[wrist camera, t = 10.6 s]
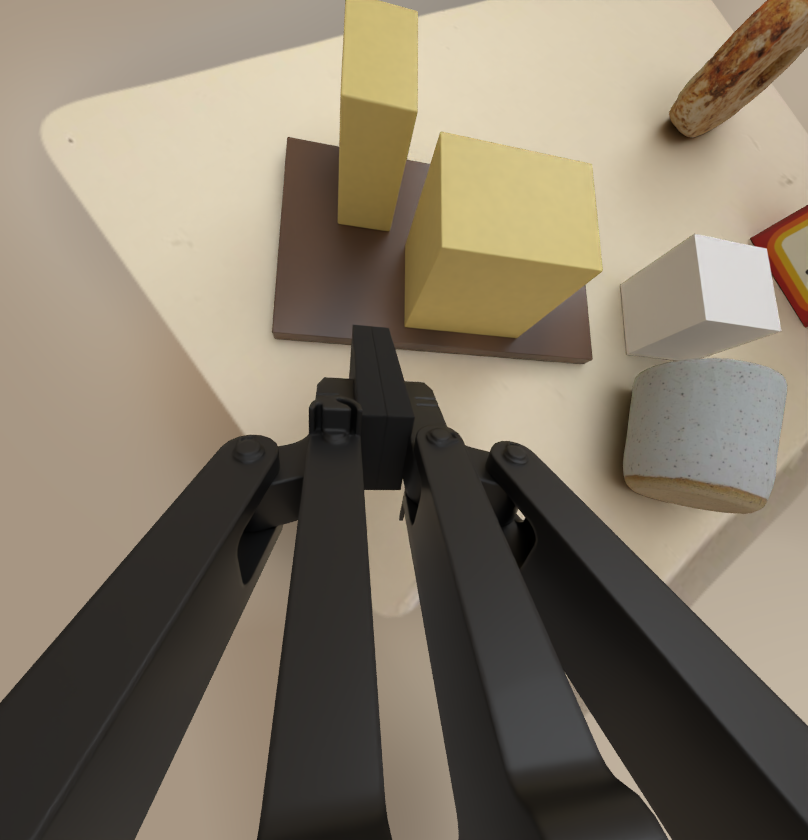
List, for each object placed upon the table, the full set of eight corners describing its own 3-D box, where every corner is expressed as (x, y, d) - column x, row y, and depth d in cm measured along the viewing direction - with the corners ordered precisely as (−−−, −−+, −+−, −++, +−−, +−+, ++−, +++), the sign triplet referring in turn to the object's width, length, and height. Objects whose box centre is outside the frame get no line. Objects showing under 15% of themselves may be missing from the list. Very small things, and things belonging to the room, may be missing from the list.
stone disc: (665, 156, 32) (809, 16, 22) (643, 123, 32) (776, -31, 23) (732, 126, 35) (887, -11, 25) (711, 96, 35) (857, -52, 25)
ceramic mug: (594, 486, 24) (710, 489, 17) (608, 379, 26) (719, 339, 19) (715, 522, 26) (868, 539, 19) (721, 419, 28) (862, 397, 21)
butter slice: (337, 224, 23) (340, 94, 15) (341, 147, 24) (345, -10, 16) (390, 232, 24) (417, 111, 16) (391, 157, 25) (418, 10, 17)
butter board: (274, 338, 22) (271, 332, 21) (289, 150, 24) (287, 136, 23) (583, 364, 26) (593, 359, 25) (568, 201, 29) (576, 191, 28)
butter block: (404, 327, 23) (441, 247, 15) (405, 245, 24) (440, 130, 16) (517, 338, 24) (603, 271, 17) (513, 260, 25) (592, 163, 18)
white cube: (689, 362, 28) (782, 331, 23) (626, 354, 27) (706, 320, 21) (681, 294, 29) (767, 248, 24) (620, 284, 28) (694, 233, 22)
